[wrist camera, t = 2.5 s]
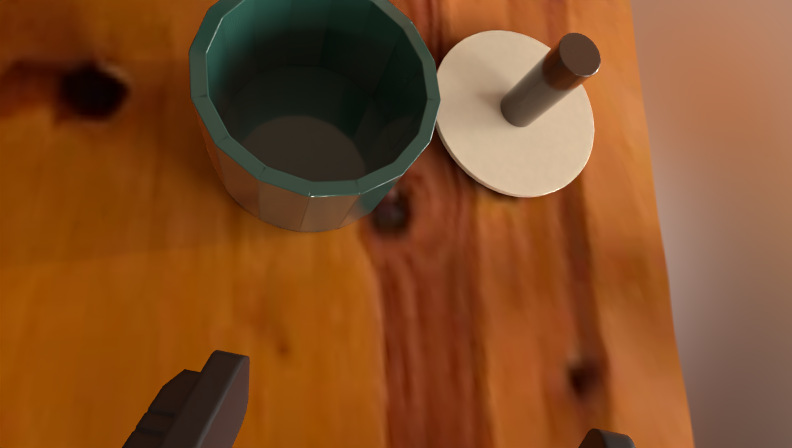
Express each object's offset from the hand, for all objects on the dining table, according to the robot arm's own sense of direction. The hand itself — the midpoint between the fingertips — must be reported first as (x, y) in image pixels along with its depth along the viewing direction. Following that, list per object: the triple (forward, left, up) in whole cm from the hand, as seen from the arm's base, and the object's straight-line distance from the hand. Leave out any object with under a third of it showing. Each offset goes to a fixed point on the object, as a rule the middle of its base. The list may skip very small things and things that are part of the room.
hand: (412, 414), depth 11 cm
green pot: (-15, +1, -19) cm, 24 cm away
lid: (-17, +17, -18) cm, 30 cm away
